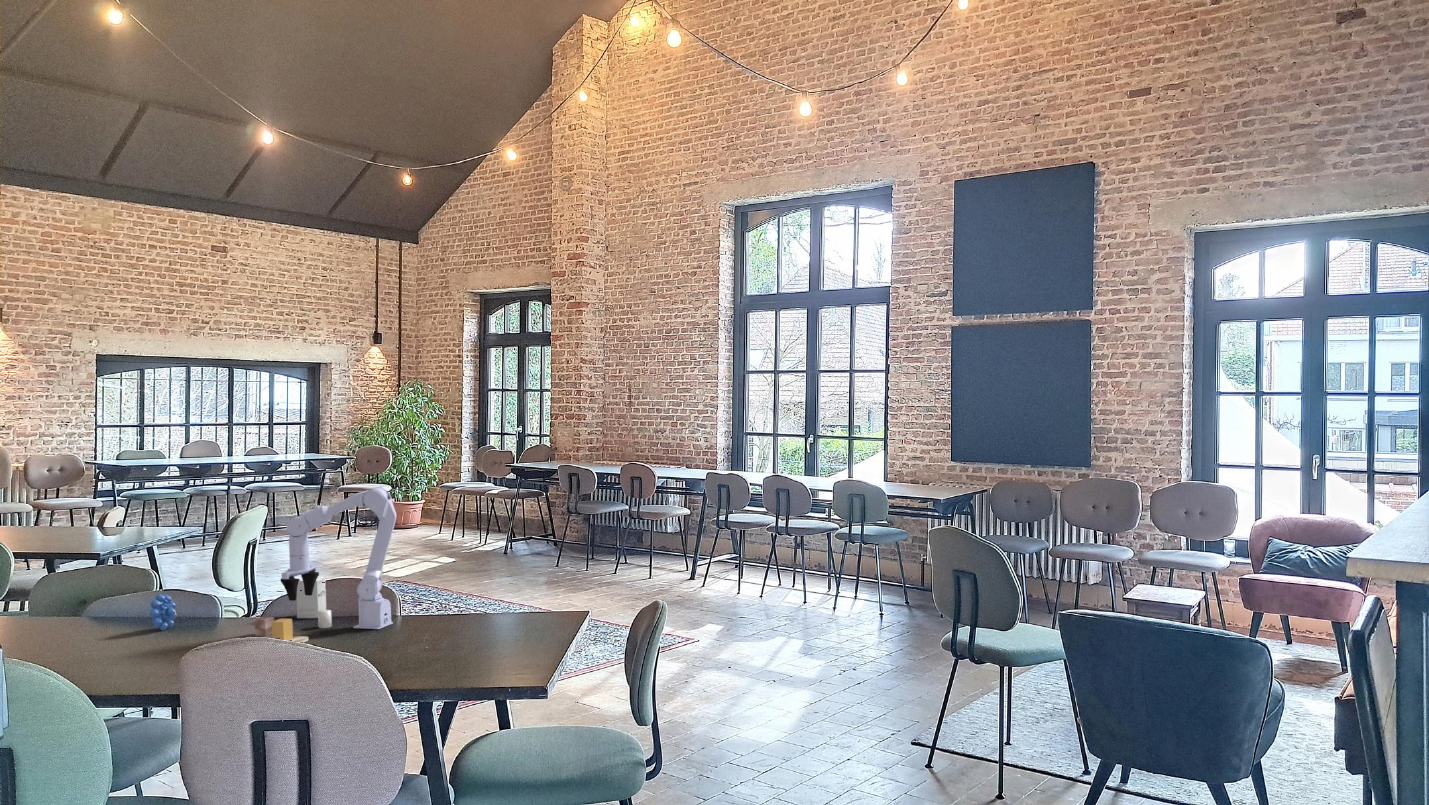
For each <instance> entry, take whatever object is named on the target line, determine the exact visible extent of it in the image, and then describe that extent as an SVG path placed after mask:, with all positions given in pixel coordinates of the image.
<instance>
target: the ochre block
mask: <svg viewBox="0 0 1429 805" xmlns="http://www.w3.org/2000/svg"><path fill="white" fill-rule="evenodd" d="M271 635H272V636H271V637H272V638H280V639H282V640H291V639H293V636H294V627H293V619H292V618H278V619H274V621H272V634H271ZM272 638H271V639H272Z"/></svg>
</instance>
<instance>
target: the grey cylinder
mask: <svg viewBox="0 0 1429 805" xmlns="http://www.w3.org/2000/svg"><path fill="white" fill-rule="evenodd" d="M332 620H333V619H332V610H331V609H326V610H321V611H318V618H317V621H318V622H317V624H318V625H317V626H318V627H317V628H319V629H328V628H332V626H333V622H332Z"/></svg>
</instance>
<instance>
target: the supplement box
mask: <svg viewBox="0 0 1429 805" xmlns="http://www.w3.org/2000/svg"><path fill="white" fill-rule="evenodd" d="M322 582H325V583H322ZM326 587H327V586H326V576H318V577H317V579H316V582H315V585H314V589H313V593H312V595H311V596H308V595H305V591H304V583H303V579H302V578H300V580H299V582H298V586H297V598H296V619H318V611H321V610H327V591H326V590H327V588H326ZM300 590H302V591H300Z"/></svg>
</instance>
